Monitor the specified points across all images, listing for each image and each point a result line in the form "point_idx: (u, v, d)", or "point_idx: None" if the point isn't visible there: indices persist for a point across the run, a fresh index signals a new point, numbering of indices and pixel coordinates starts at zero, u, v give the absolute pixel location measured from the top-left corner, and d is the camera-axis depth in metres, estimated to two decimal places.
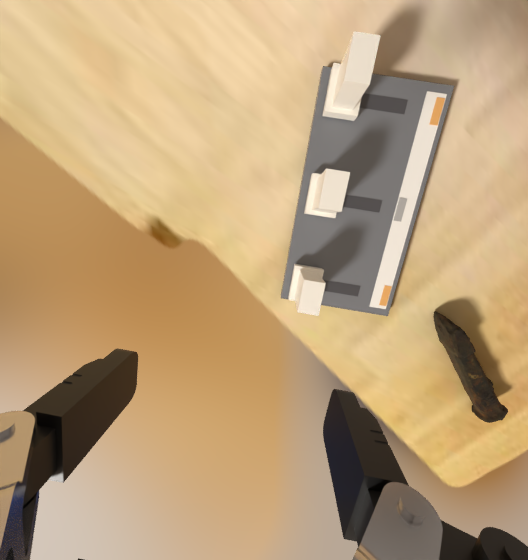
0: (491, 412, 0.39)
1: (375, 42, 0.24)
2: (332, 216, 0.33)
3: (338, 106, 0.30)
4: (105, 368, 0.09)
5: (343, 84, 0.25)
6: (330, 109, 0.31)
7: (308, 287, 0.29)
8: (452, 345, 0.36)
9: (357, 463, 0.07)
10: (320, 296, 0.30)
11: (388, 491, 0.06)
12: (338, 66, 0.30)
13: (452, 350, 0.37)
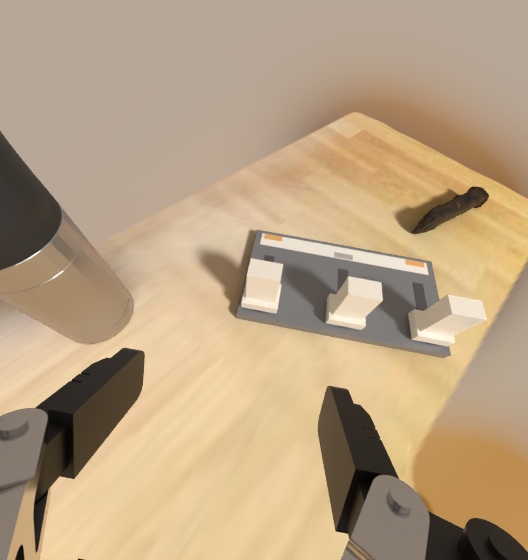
0: (479, 194, 0.51)
1: (255, 261, 0.31)
2: None
3: (275, 297, 0.35)
4: (113, 367, 0.09)
5: (279, 283, 0.31)
6: (276, 304, 0.35)
7: (458, 309, 0.30)
8: (441, 217, 0.46)
9: (349, 457, 0.07)
10: (462, 299, 0.30)
11: (377, 484, 0.06)
12: (244, 298, 0.35)
13: (445, 217, 0.47)
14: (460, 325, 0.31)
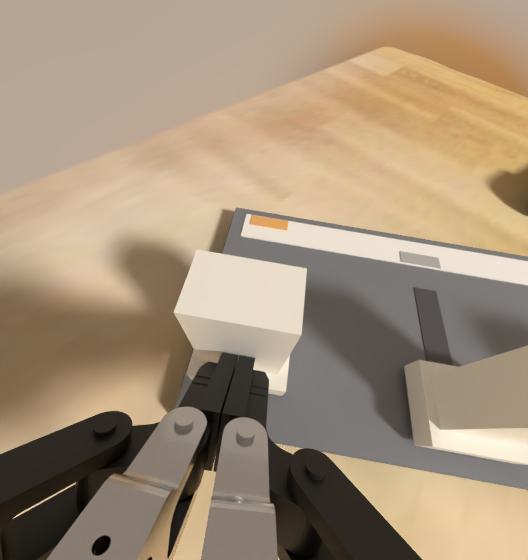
0: None
1: (210, 260, 0.09)
2: None
3: None
4: (225, 370, 0.10)
5: None
6: (282, 376, 0.13)
7: None
8: None
9: (224, 406, 0.08)
10: None
11: (227, 431, 0.07)
12: (195, 362, 0.13)
13: None
14: None
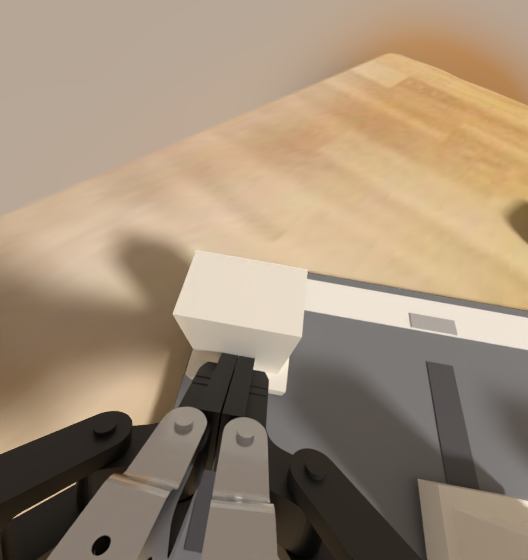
0: None
1: (209, 260, 0.09)
2: None
3: None
4: (225, 370, 0.10)
5: None
6: (282, 376, 0.13)
7: None
8: None
9: (224, 406, 0.08)
10: None
11: (227, 431, 0.07)
12: (194, 361, 0.13)
13: None
14: None
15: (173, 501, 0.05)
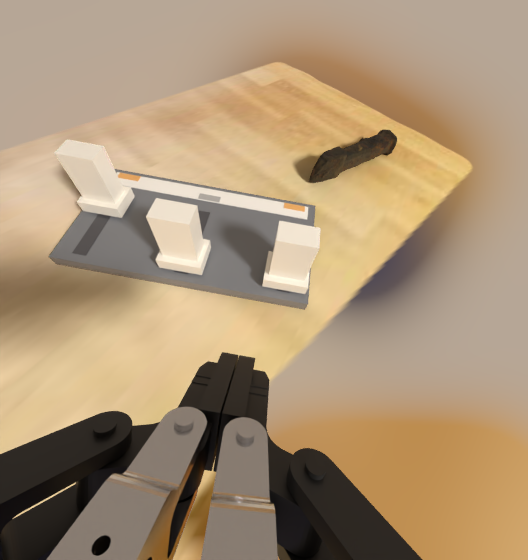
0: (387, 137, 0.45)
1: (70, 142, 0.27)
2: (207, 242, 0.30)
3: (116, 197, 0.31)
4: (225, 370, 0.10)
5: (96, 165, 0.27)
6: (117, 204, 0.31)
7: (285, 236, 0.24)
8: (337, 160, 0.40)
9: (224, 406, 0.08)
10: (295, 225, 0.24)
11: (227, 431, 0.07)
12: (81, 198, 0.31)
13: (342, 160, 0.40)
14: (299, 260, 0.25)
15: (173, 501, 0.05)
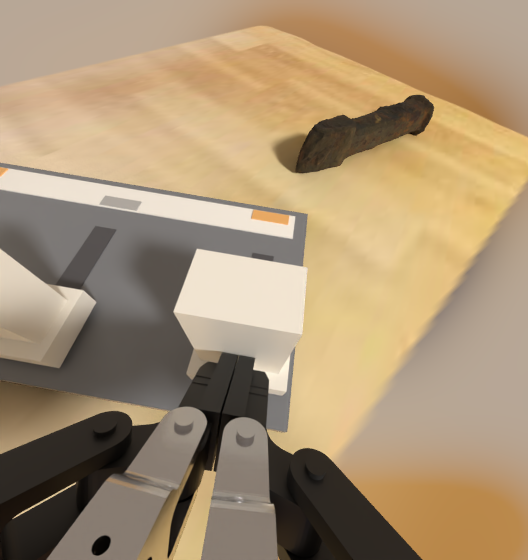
0: (418, 105, 0.30)
1: None
2: (76, 296, 0.14)
3: None
4: (225, 370, 0.10)
5: None
6: None
7: (205, 297, 0.08)
8: (341, 135, 0.24)
9: (224, 406, 0.08)
10: (240, 262, 0.09)
11: (227, 431, 0.07)
12: None
13: (348, 135, 0.25)
14: (255, 349, 0.10)
15: (173, 501, 0.05)
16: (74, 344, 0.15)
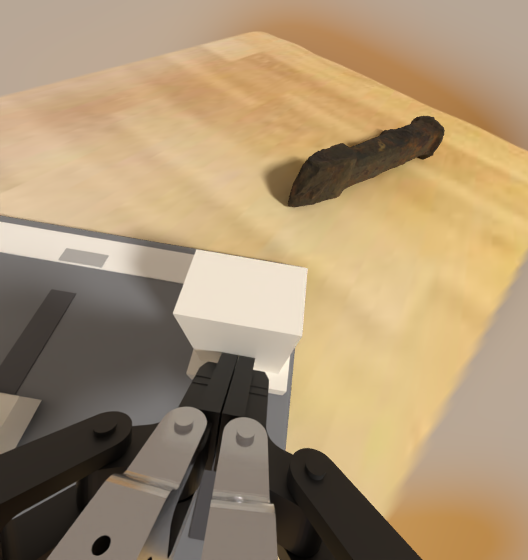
0: (427, 128, 0.27)
1: None
2: (9, 406, 0.11)
3: None
4: (225, 370, 0.10)
5: None
6: None
7: (204, 298, 0.08)
8: (339, 168, 0.22)
9: (224, 406, 0.08)
10: (240, 263, 0.09)
11: (227, 431, 0.07)
12: None
13: (348, 168, 0.22)
14: (255, 349, 0.10)
15: (173, 501, 0.05)
16: None
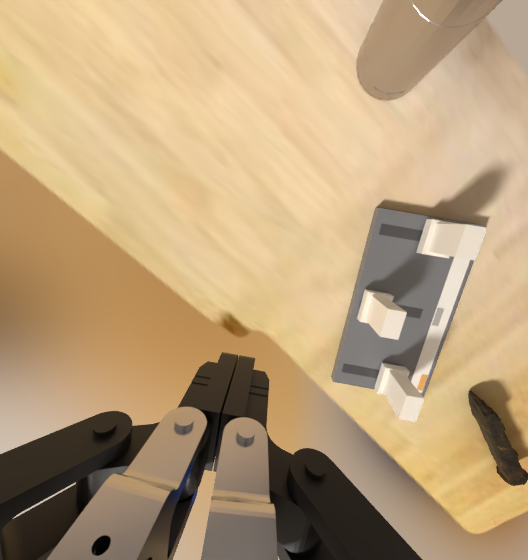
0: (515, 477, 0.45)
1: (482, 232, 0.31)
2: None
3: (434, 252, 0.37)
4: (225, 370, 0.10)
5: (452, 256, 0.32)
6: (426, 252, 0.37)
7: (409, 401, 0.36)
8: (485, 424, 0.43)
9: (224, 406, 0.08)
10: (419, 408, 0.37)
11: (227, 431, 0.07)
12: (436, 221, 0.36)
13: (485, 427, 0.43)
14: (394, 400, 0.39)
15: (173, 501, 0.05)
16: None
